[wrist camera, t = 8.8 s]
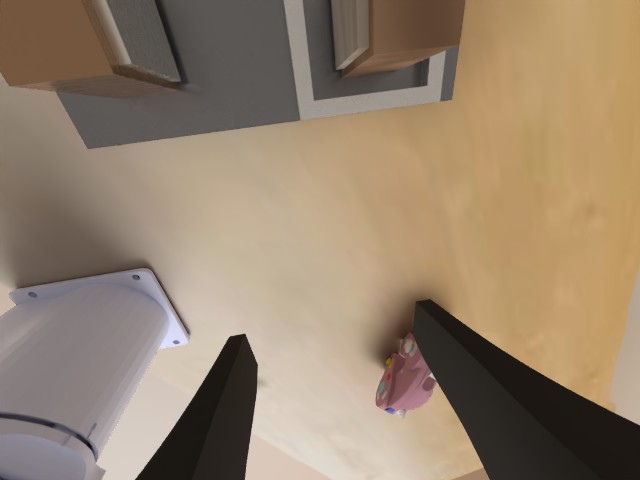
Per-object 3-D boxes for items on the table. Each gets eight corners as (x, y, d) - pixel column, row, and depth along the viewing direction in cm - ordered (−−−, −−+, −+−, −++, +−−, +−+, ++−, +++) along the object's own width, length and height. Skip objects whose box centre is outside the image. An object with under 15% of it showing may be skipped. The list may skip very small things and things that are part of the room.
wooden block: (334, 78, 12) (362, 56, 8) (326, -32, 10) (357, -145, 6) (397, 70, 12) (459, 44, 8) (401, -39, 10) (485, -154, 6)
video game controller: (414, 302, 25) (420, 350, 18) (455, 324, 24) (477, 381, 18) (371, 361, 28) (364, 418, 22) (406, 381, 28) (409, 446, 21)
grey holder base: (104, 146, 13) (-25, 166, 8) (-8, -64, 9) (-417, -317, 4) (439, 101, 14) (533, 90, 9) (462, -103, 10) (652, -340, 5)
